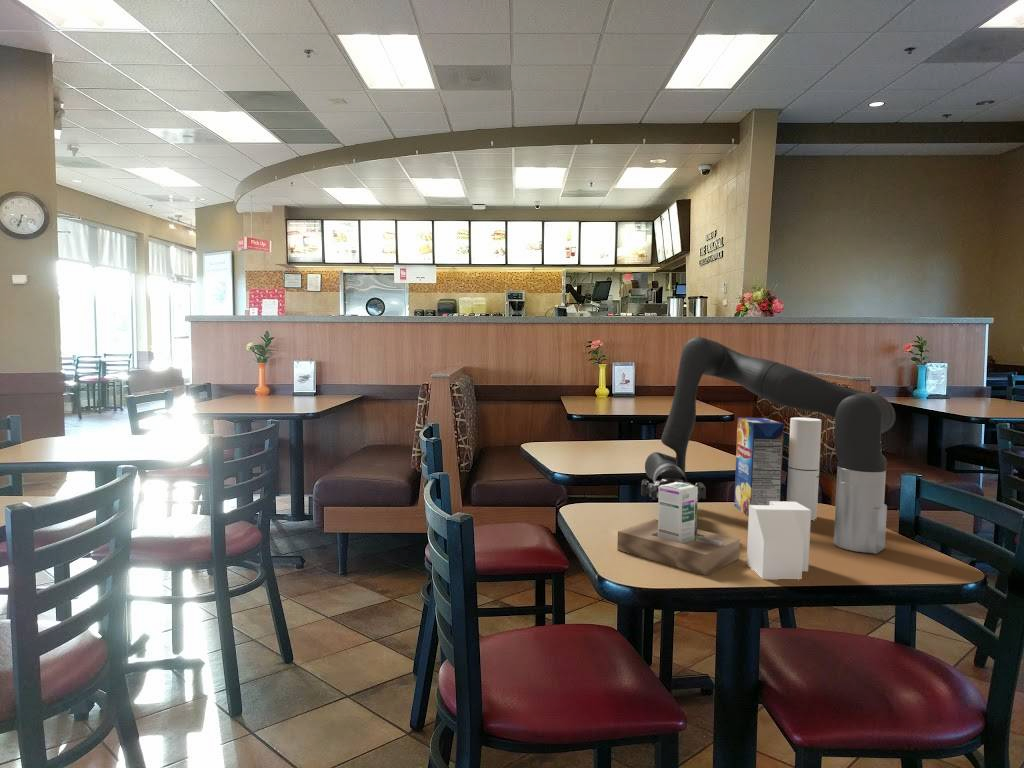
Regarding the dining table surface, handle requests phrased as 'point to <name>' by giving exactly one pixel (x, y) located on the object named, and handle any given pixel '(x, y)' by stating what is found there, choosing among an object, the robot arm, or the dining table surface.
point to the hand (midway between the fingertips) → (675, 496)
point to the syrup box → (677, 512)
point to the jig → (680, 548)
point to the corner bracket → (778, 539)
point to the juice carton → (758, 462)
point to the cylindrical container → (804, 462)
